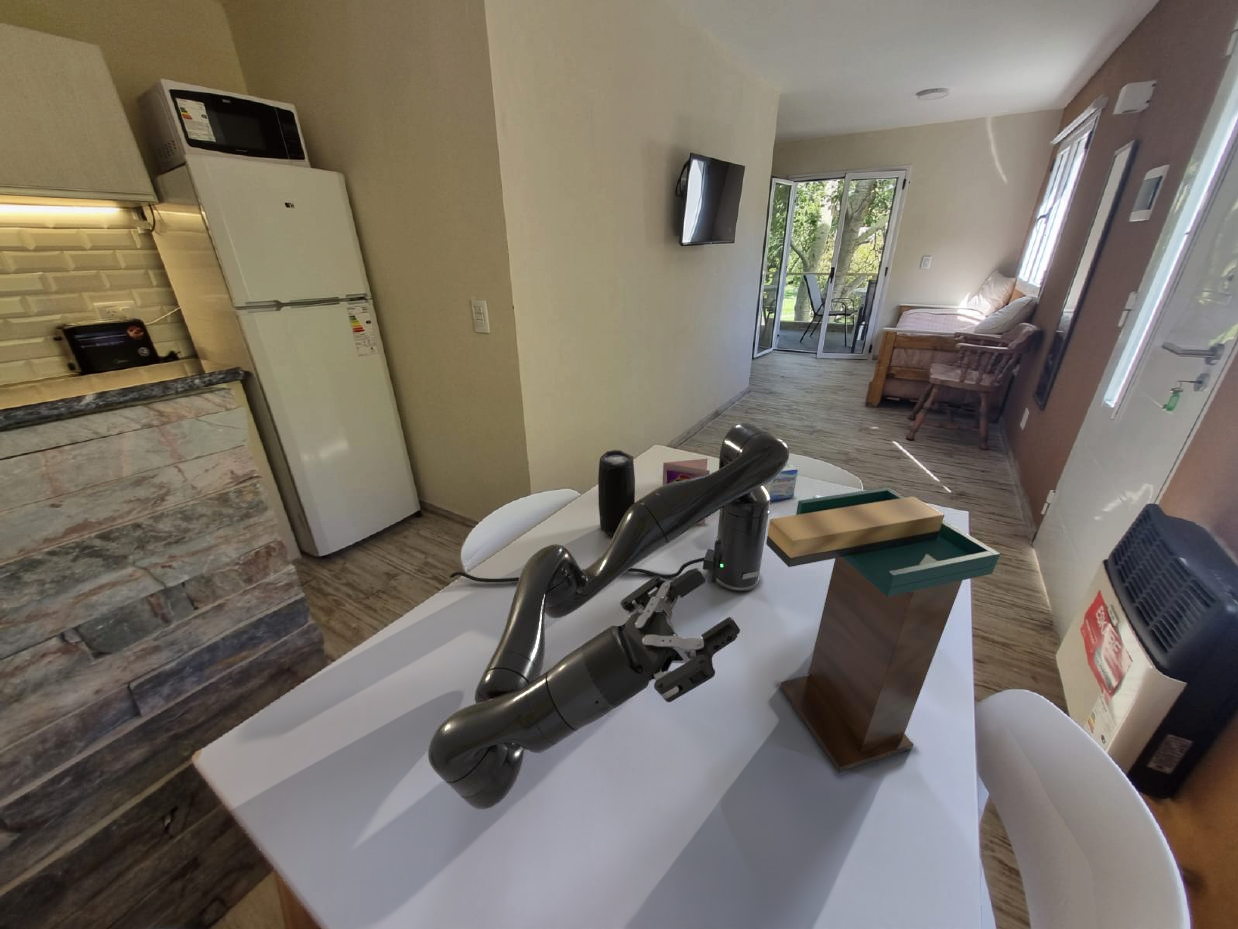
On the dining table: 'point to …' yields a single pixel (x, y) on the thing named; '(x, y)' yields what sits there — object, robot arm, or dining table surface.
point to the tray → (911, 551)
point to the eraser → (852, 530)
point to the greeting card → (684, 471)
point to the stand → (868, 666)
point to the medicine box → (783, 484)
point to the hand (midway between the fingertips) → (717, 597)
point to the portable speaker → (615, 488)
